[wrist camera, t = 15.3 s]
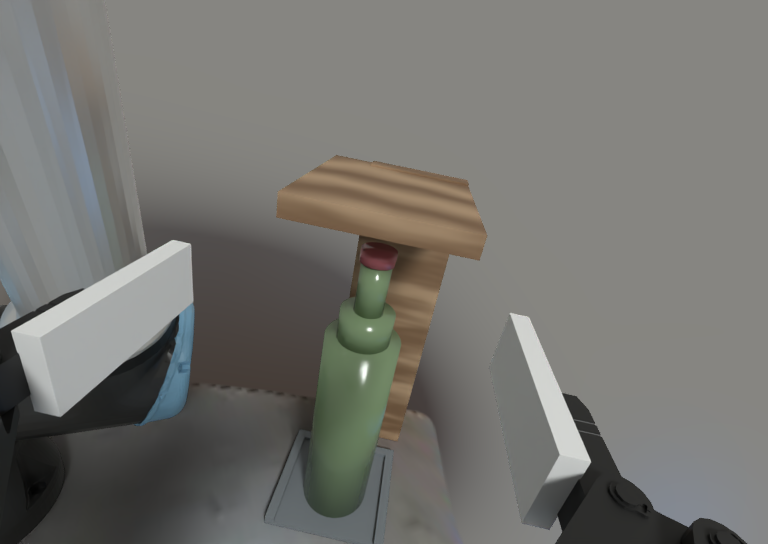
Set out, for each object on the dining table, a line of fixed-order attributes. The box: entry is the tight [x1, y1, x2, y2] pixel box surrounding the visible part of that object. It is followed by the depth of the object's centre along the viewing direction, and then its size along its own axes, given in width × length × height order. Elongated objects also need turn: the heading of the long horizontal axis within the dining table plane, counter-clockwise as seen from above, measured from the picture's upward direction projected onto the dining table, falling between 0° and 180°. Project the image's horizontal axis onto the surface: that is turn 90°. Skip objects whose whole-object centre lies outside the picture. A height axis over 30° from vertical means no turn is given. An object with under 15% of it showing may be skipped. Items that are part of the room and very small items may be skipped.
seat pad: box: [264, 429, 394, 544], centre depth 47 cm, size 12×13×1 cm
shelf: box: [276, 155, 487, 441], centre depth 41 cm, size 17×14×37 cm
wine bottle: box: [304, 242, 401, 518], centre depth 39 cm, size 7×7×31 cm
